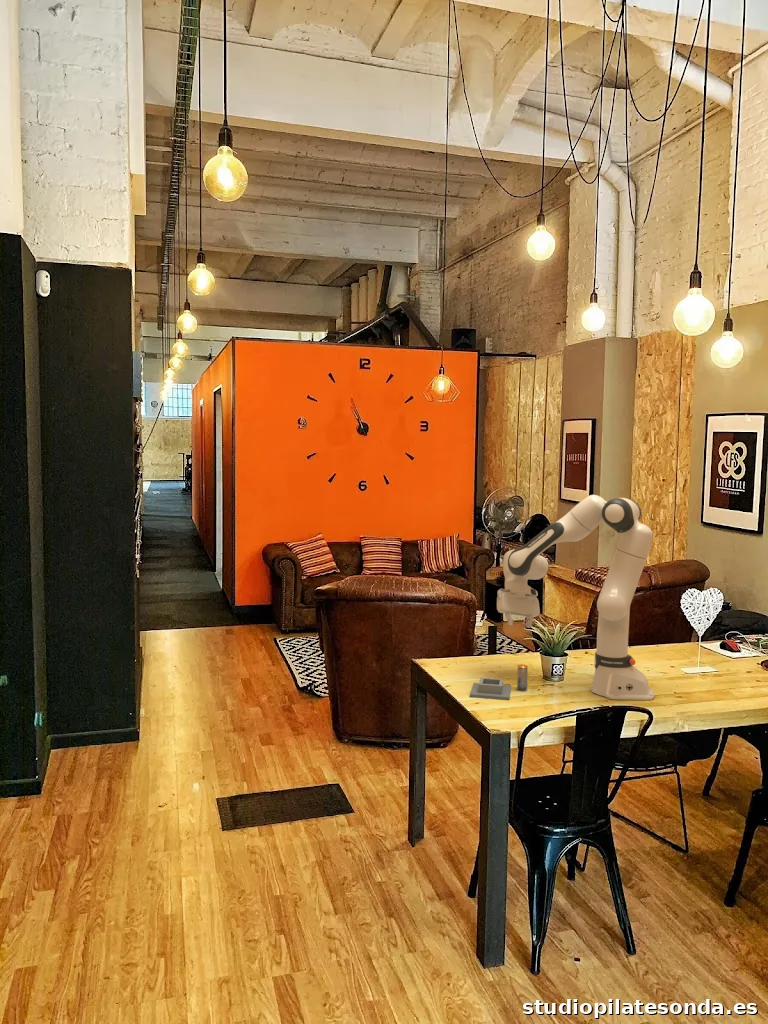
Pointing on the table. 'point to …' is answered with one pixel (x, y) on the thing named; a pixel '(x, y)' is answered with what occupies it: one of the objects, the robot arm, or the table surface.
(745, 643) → the table surface
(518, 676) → the pivot pin
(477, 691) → the grey square socket base
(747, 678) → the table surface
